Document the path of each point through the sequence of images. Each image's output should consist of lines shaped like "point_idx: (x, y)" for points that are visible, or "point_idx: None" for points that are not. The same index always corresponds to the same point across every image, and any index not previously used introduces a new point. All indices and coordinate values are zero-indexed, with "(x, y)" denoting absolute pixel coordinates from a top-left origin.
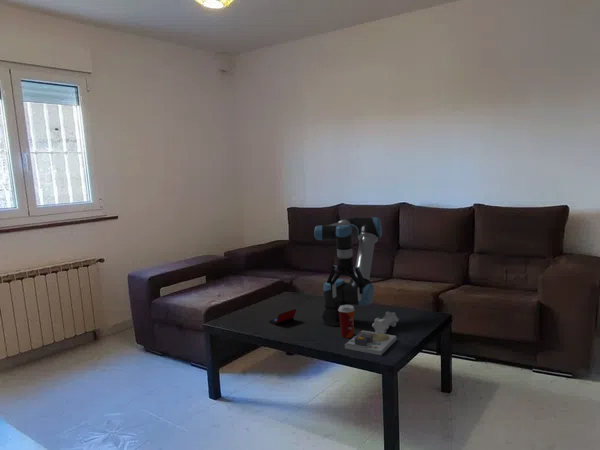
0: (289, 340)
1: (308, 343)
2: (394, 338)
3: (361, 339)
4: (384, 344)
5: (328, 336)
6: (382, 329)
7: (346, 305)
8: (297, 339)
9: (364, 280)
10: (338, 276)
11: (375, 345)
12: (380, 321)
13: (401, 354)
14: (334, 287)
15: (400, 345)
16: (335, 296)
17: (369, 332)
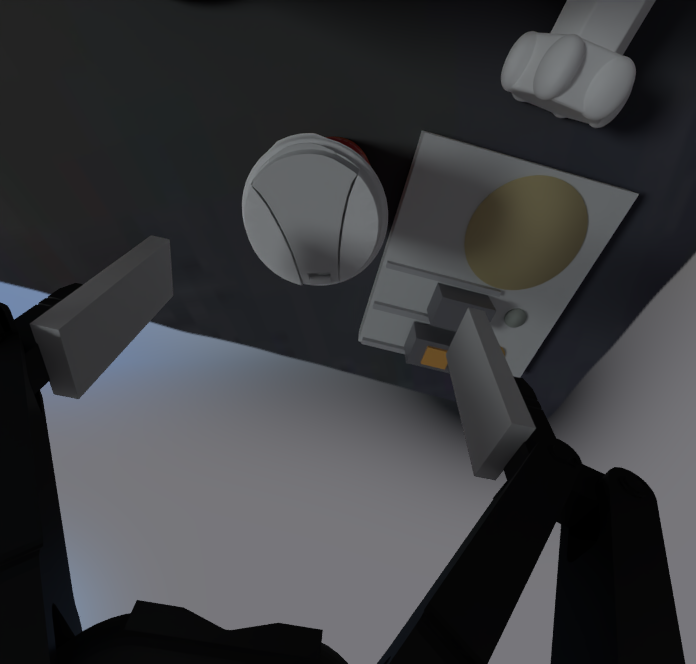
0: None
1: (187, 304)
2: (616, 225)
3: (440, 367)
4: (544, 317)
5: (238, 205)
6: (569, 116)
7: (299, 175)
8: None
9: (663, 566)
10: (70, 589)
11: (499, 332)
12: (583, 115)
13: (601, 350)
14: (101, 348)
15: (625, 261)
16: (168, 266)
17: (473, 163)
